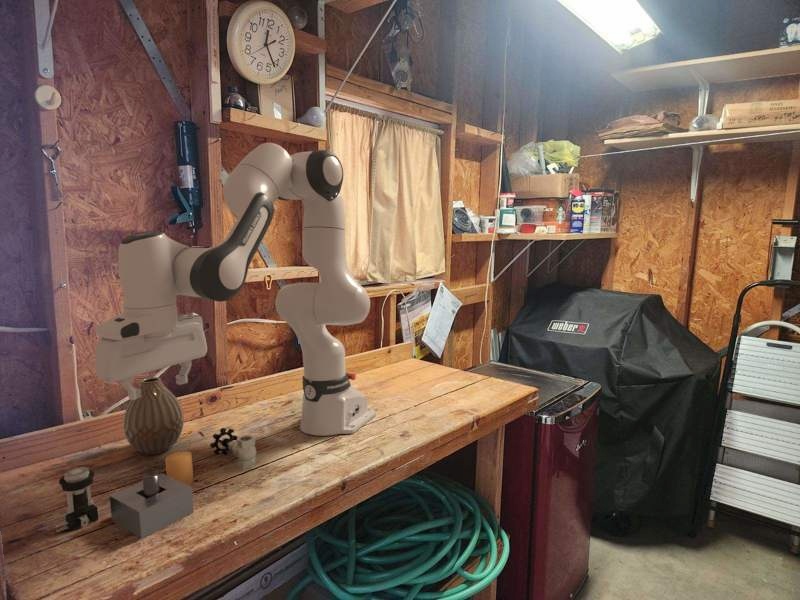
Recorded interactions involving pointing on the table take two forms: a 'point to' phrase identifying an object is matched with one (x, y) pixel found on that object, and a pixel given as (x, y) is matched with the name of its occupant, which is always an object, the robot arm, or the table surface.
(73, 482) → the push button
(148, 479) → the cylinder
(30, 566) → the table surface
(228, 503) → the table surface
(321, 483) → the table surface
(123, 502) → the bore block
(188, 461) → the orange rounded tapered piece
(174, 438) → the vase
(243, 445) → the valve
